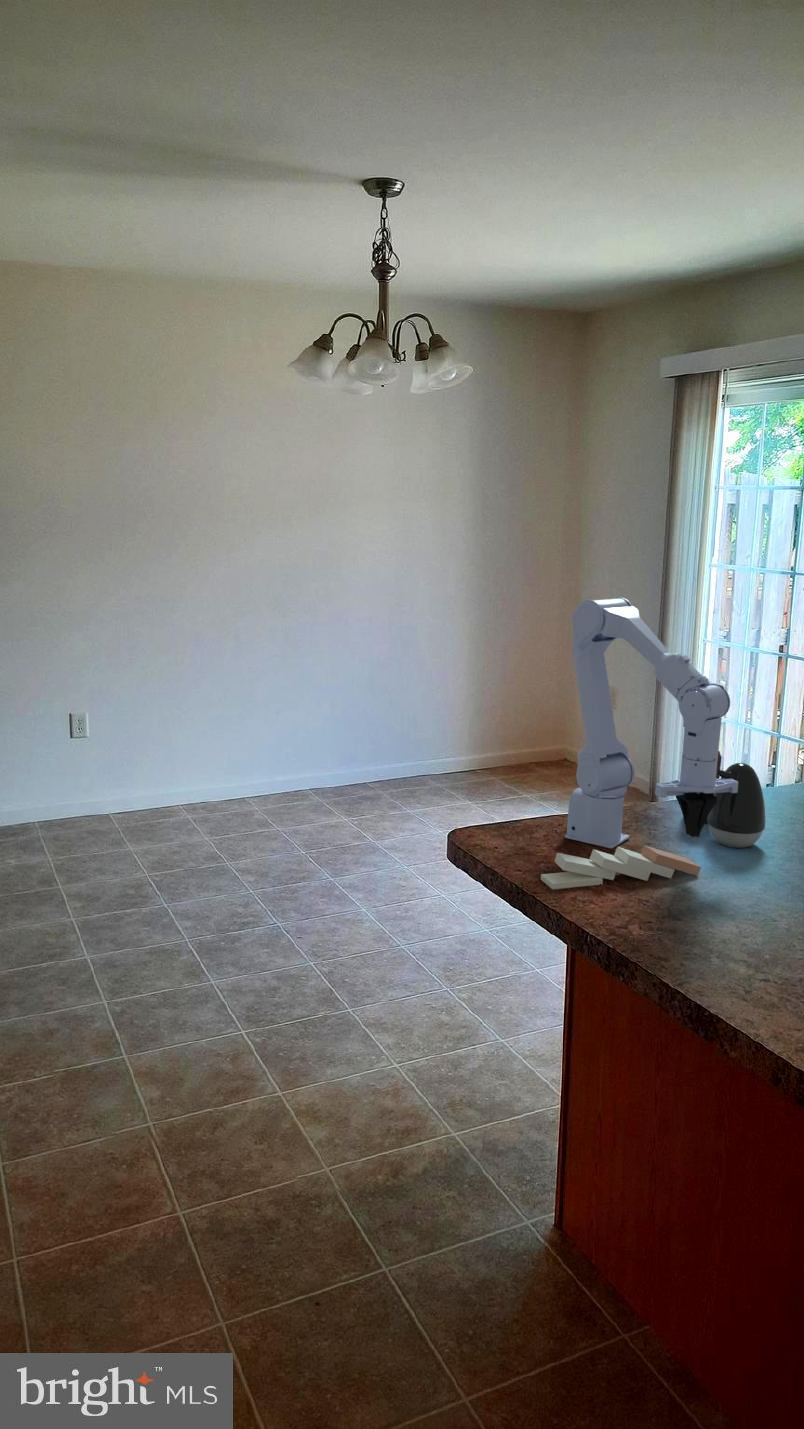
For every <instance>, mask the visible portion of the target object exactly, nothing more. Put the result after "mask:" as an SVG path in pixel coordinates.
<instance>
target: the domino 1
mask: <svg viewBox="0 0 804 1429" xmlns="http://www.w3.org/2000/svg"><path fill="white" fill-rule="evenodd" d="M554 863H555V864H556V865H557V866H558V867H559V868H561V870H562V871H564V872H575V873H580V874H585V875H590V876H595V877H600V878H602V879H604V880H611V881H614V879H615V878H616V875H617V874H616V873H617V872H615V871H612V870H608V869H605V868H602V867H600V866H599V865H598V864H596V863H595V862H594V861H593V860H591V859H590V858H585V857H581V856H575V855H569V854H565V853H560V852H556V855H555V858H554Z"/></svg>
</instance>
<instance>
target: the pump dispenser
mask: <svg viewBox="0 0 804 1429" xmlns="http://www.w3.org/2000/svg"><path fill="white" fill-rule="evenodd" d="M717 775H719V776H720V778H719V779H733V780H735V781H737V782H738V791H737V793H731V792H722V793H714V794H713V796H715V797H717V804H716V805H715V806H714V807H713V808H712V810H711V811H710V813H709V815H708V816H707V824H708V829H709V832H710V834H711V836H712V838H713V839H714V840H715V841H717V843H719V844H721V845H723V846H726V847H729V848H736V849H739V848H741V849H743V848H747V847H750V846H752V845H754V844H756V842H758V840H759V839H760V838H761V836H762V834H763V831H765V829H766V807H765V806H766V805H765V799H764V798H765V797H764V793H763V789H762V785H761V781H760V778H759V777H758V775H757V773H756V771H755V769H754V768H753V767H752V766H751V765H749V764H747V763H744V762H737V763H733V764H731V765H730V766H728V767H727V769H726V770H722V769H720V770H718V771H717Z"/></svg>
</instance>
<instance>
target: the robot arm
mask: <svg viewBox="0 0 804 1429" xmlns="http://www.w3.org/2000/svg"><path fill="white" fill-rule="evenodd" d="M571 621H572V622H571V623H572V630H573V635H572V636H573V637H572V642H571V648H572V649H571V650H572V656H573V663H574V671H575V676H576V684H577V690H578V696H579V704H580V709H581V710H580V711H581V717H582V722H583V723H582V724H583V730H584V736H585V744H584V745H583V747H582V748H581V749H580V750H579V752H577V755H576V757H577V768H576V774H575V777H576V782H577V784H578V786H579V787H577V788H575V789H574V790H573V792H572V793H571V795H570V798H569V801H568V810H567V812H568V813H567V825H566V826H567V828H566V829H567V830H566V834H565V835H564V837H565V838H566V839H569V840H573V841H578V842H581V843H586V844H590V845H595V846H598V847H603V848H607V849H614V848H615V847H618V845H620V844H622V843H623V842H625V841H626V840H628V839H629V838H630V835H629V834H626V833H625V834H624V833H622V829H623V817H624V816H623V815H624V803H625V801H624V800H625V793H627V791H628V790H627V789H628V786H630V785H631V784H632V783H633V781H634V779H635V773H636V772H635V767H634V763H633V761H632V759H631V758H630V756H629V752H628V747H627V746H626V745H625V744H624V743H623V742H622V741H620V740H619V739H618V737H617V732H616V726H615V718H614V711H613V705H612V700H611V692H610V685H609V684H610V683H609V679H608V673H607V665H606V658H605V652H606V651H607V649H609V646H610V645H611V644H612V643H613V642H614V641H615V640H617V639H623V640H625V641H626V642H627V643H628V644H629V645H630V646H632V648H634V649H635V650H636V651H637V652H638V653H639V654H640V655H641V656H642V657H643V658H644V659H646V660H647V661H648V662H649V663H650V664H652V666H653V667H654V677H655V679H656V680H658V681H659V683H660V684H661V685H662V686H663V687H664V688H665V689H666V690H667V691H668V692H669V693H670V695H672V697H673V698H674V699H675V700H676V701H677V702H678V710H679V712H680V715H681V716H682V720H683V722H682V727H683V729H684V730H683V731H684V732H683V741H682V752H681V753H682V755H681V764H680V774H679V779H674V780H670V781H666V782H657V783H655V792H654V793H655V794H654V795H655V796H657V797H659V798H661V799H663V798H664V799H666V798H667V797H675V799H676V801H677V803H678V805H679V808H680V810H681V814H682V817H683V822H684V826H685V827H684V828H685V834H686V835H688V836H690V837H691V838H699V837H700V835H701V832H702V830H703V827H704V825H705V824H704V823H705V820H706V818H707V816H708V815H709V813H710V811H711V810H712V808H713V807H714V806H715V805H716V804H717V797H715V796H713V793H722V792H731V793H737V791H738V782H737V781H735V780H733V779H720V778H719V779H716V772H717V761H718V751H719V749H720V738H721V730H722V727H721V726H722V718H723V717H724V716H726V714H727V713H728V712H729V711H730V707H731V698H730V694H729V693H728V691H727V690H726V688H725V687H724V685H722V684H721V683H715V682H711V681H709V679H708V678H707V676H706V675H703V674H701V673H700V672H699V671H698V669H696V668H695V667H694V665H692V664H691V662H690V661H691V659H690V657H689V656H688V655H686V654H685V655H683V654H682V653H679V652H672V653H671V652H670V651H669V650H668V649H667V648H666V645H664V644H663V643H662V641H661V640H660V639H659V638H658V637H657V636H656V635H655V634H654V632H653V631H652V629H650V628H649V626H648V625H647V624H646V623H645V622H644V620H642V618H641V615H640V611H639V609H638V608H637V607H635V606H633V604H632V603H631V601H630V600H629V599H627V598H624V597H620V596H619V597H615V598H606V599H605V598H604V599H585V600H583V601H581V602H580V603H579V604H578V606H577V607H576V609H575V610H574V611H573V613H572V614H571ZM603 756H605V757H603Z"/></svg>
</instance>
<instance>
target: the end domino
mask: <svg viewBox="0 0 804 1429" xmlns="http://www.w3.org/2000/svg"><path fill="white" fill-rule="evenodd" d="M640 854H642V855H643V856H645V857H646V858H648V859H649V860H651V861H652V862H654V863H656V864H660V865H663V866H666V867H670V868H673V869H674V870H677V871H679V872H684V873H687V874H690V875H693V876H699V873H700V871H701V868H702V866H700V865H698V864H697V863H696V862H694V861H692V860H691V859H689V858H687V857H684V856H681V855H678V854H674V853H671V852H668V851H665V850H661V849H658V848H654V847H651V846H649V845H645V844H644V845H643V847H642V850H641V853H640Z"/></svg>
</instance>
